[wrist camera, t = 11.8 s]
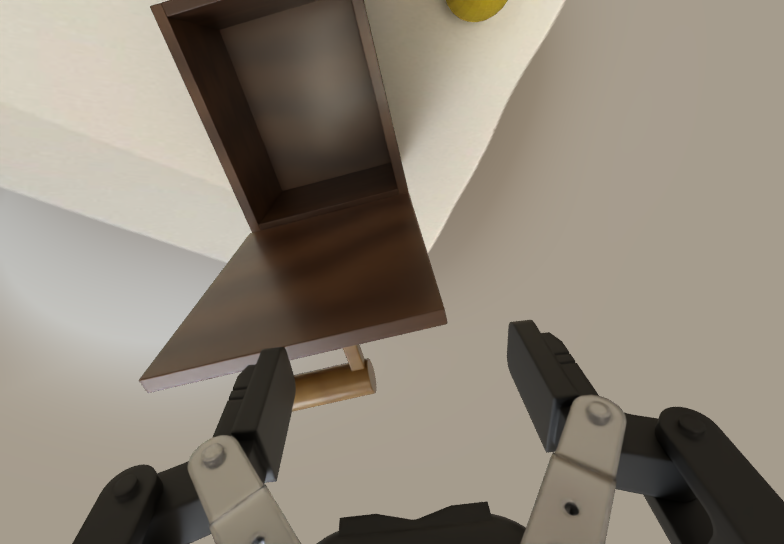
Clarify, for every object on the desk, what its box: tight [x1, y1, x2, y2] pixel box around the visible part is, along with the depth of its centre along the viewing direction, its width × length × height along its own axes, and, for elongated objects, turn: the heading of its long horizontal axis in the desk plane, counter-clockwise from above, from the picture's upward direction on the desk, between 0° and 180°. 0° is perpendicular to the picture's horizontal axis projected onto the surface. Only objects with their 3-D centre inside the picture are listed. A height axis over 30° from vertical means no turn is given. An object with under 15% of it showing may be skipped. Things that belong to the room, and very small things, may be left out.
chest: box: [150, 0, 409, 233], centre depth 33 cm, size 17×14×11 cm
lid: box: [139, 193, 447, 411], centre depth 25 cm, size 17×14×5 cm
